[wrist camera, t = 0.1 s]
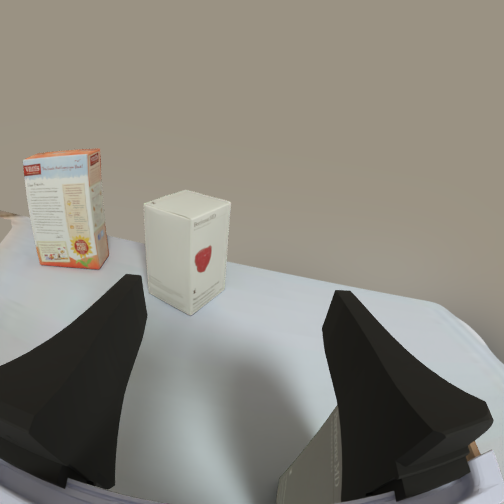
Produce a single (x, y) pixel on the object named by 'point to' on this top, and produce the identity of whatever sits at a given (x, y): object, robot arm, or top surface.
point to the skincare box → (316, 469)
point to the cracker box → (67, 208)
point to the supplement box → (186, 248)
